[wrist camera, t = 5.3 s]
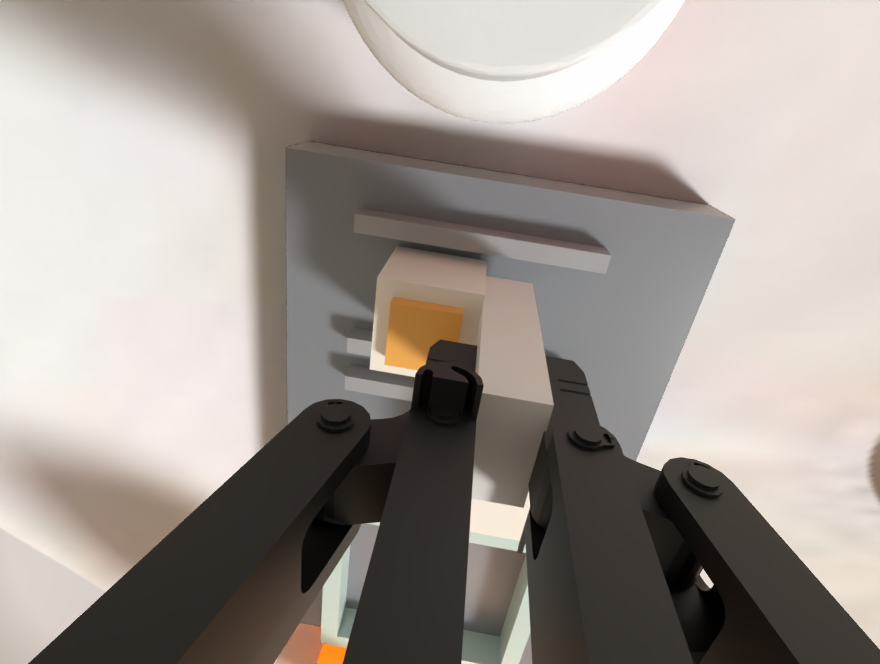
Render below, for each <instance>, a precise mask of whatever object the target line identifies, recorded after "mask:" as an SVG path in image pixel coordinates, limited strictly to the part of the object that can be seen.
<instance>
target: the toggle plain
mask: <svg viewBox="0 0 880 664" xmlns="http://www.w3.org/2000/svg"><path fill="white" fill-rule="evenodd" d="M529 509H530V499H529V491H528V495H527V498H526V502H525V505H524V508H522V507H516V506H511V505H505V504H500V503H494V502H489V501H483V500H478V499H472V500H471V516H470V532H473V533H479V534H484V535H490V536H495V537H501V538H506V539H512V540H517V541H520V538H521V535H522V532H523V528H524V525H525V522H526V519H527V515H528V512H529Z"/></svg>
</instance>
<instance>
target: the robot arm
mask: <svg viewBox="0 0 880 664" xmlns="http://www.w3.org/2000/svg"><path fill="white" fill-rule="evenodd" d="M590 395H591V393H590V390H589V387H588V383H587V380H586V376H585V373H584V372H583V370H582V369H581V368H580V367H579V366H578V365H577V364H576V363H575V362H574V361H572V360H566V359H560V358H554V357H548V356H545V351H544V346H543V340H542V334H541V328H540V322H539V317H538V311H537V305H536V299H535V294H534V288H533V283H527V282H521V281H515V280H509V279H503V278H497V277H491V276H486V285H485V297H484V299H483V305H482V310H481V315H480V320H479V325H478V331H477V336H476V341H475V345H470V344H464V343H458V342H452V341H447V340H441V339H440V340H439V341H437V342H436V343H435V344H434V345H432V346H431V347H430V349H429V353H428V357H427V360H426V364H425V365H424V366H422V367H420V368H419V369H418V371H417V372H416V374H415V381H414V389H413V396H412V404H411V409H410V410H409V411H408V412H406V413H404V414H402V415H400V416H396V417H393V418H385V419H370V414H369V413H368V412H367V410H366V409H365V408H364V407H363V406H361V405H359V404H357V403H355V402H353V401H348V400H343V399H326V400H323V401H319V402H315V403H313V404H312V405H310V406H309V407H307V408H305V409H304V410H303V411H302V412H301V413H300V414H299V415H298V416H297V417H296V418H294V419H293V420H292V421H291V422H290V423H289V424H288V425H287V426H286V427H285V428H284V429H282V430H281V431H280V432H279V433H278V434H277V435H276V436H275V437H274V438H273V439H272V440H271V441H269V442H268V443H267V444H266V445H265V446H264V447H263V448H262V449H261V450H260V451H259V452H258V453H256V454H255V455H254V456H253V457H252V458H251V459H250V460H249V461H248V462H247V463H246V464H245V465H243V466H242V467H241V468H240V469H239V470H238V471H237V472H236V473H235V474H234V475H233V476H231V477H230V478H229V479H228V480H227V481H226V482H225V483H224V484H223V485H222V486H221V487H220V488H218V489H217V490H216V491H215V492H214V493H213V494H212V495H211V496H210V497H209V498H208V499H207V500H205V501H204V502H203V503H202V504H201V505H200V506H199V507H198V508H197V509H196V510H195V511H193V512H192V513H191V514H190V515H189V516H188V517H187V518H186V519H185V520H184V521H183V522H182V523H180V524H179V525H178V526H177V527H176V528H175V529H174V530H173V531H172V532H171V533H170V534H169V535H167V536H166V537H165V538H164V539H163V540H162V541H161V542H160V543H159V544H158V545H157V546H155V547H154V548H153V549H152V550H151V551H150V552H149V553H148V554H147V555H146V556H145V557H144V558H142V559H141V560H140V561H139V562H138V563H137V564H136V565H135V566H134V567H133V568H132V569H131V570H129V571H128V572H127V573H126V574H125V575H124V576H123V577H122V578H121V579H120V580H119V581H117V582H116V583H115V584H114V585H113V586H112V587H111V588H110V589H109V590H108V591H107V592H106V593H104V594H103V596H101V597H100V598H99V599H98V600H97V601H96V602H95V603H94V604H93V605H91V606H90V608H88V609H87V610H86V611H85V612H84V613H83V614H82V615H81V616H80V617H78V618H77V619H76V620H75V621H74V622H73V623H72V624H71V625H70V626H69V627H68V628H66V629H65V630H64V631H63V632H62V633H61V634H60V635H59V636H58V637H57V638H56V639H55V640H54V641H52V642H51V643H50V644H49V645H48V646H47V647H46V648H45V649H44V650H43V651H42V652H40V653H39V654H38V655H37V656H36V657H35V658H34V659H33V660H32V661H31V662H30V663H28V664H273V663H274V662H275V660H276V658H277V657H278V655H279V654H280V652H281V651H282V649H283V648H284V646H285V645H286V643H287V641H288V640H289V638H290V637H291V635H292V634H293V632H294V631H295V629H296V627H297V626H298V624H299V623H300V621H301V620H302V618H303V617H304V615H305V614H306V612H307V610H308V609H309V607H310V606H311V604H312V603H313V601H314V600H315V598H316V597H317V595H318V593H319V592H320V590H321V589H322V587H323V586H324V584H325V583H326V581H327V579H328V578H329V576H330V575H331V573H332V572H333V570H334V569H335V567H336V566H337V564H338V562H339V561H340V559H341V558H342V556H343V555H344V553H345V552H346V550H347V549H348V547H349V545H350V544H351V542H352V541H353V539H354V538H355V536H356V535H357V533H358V531H359V529H360V526H361V524H365V523H376V522H380V525H379V529H378V533H377V537H376V540H375V544H374V548H373V551H372V555H371V559H370V563H369V566H368V570H367V574H366V578H365V581H364V585H363V589H362V592H361V596H360V600H359V604H358V607H357V611H356V615H355V619H354V622H353V626H352V630H351V633H350V637H349V641H348V645H347V648H346V652H345V656H344V660H343V663H342V664H461V661H462V645H463V629H464V613H465V597H466V580H467V564H468V548H469V532H470V516H471V500H472V499H478V500H483V501H489V502H494V503H500V504H505V505H511V506H516V507H522V508H524V505H525V502H526V498H527V495H528V491H529V499H530V509H529V512H528V515H527V519H526V522H525V525H524V528H523V532H522V535H521V538H520V542H519V545H518V550H517V553H521V554H522V553H523V550H524V546H525V544H526V560H527V578H528V596H529V613H530V631H531V649H532V664H880V650H879V648H878V647H877V646H876V645H875V644H874V643H873V642H872V640H871V639H870V638H869V637H868V636H867V635H866V634H865V632H864V631H863V630H862V629H861V628H860V627H859V626H858V625H857V623H856V622H855V621H854V620H853V619H852V618H851V617H850V615H849V614H848V613H847V612H846V611H845V610H844V609H843V607H842V606H841V605H840V604H839V603H838V602H837V601H836V599H835V598H834V597H833V596H832V595H831V594H830V593H829V592H828V590H827V589H826V588H825V587H824V586H823V585H822V584H821V582H820V581H819V580H818V579H817V578H816V577H815V576H814V574H813V573H812V572H811V571H810V570H809V569H808V568H807V566H806V565H805V564H804V563H803V562H802V561H801V560H800V559H799V557H798V556H797V555H796V554H795V553H794V552H793V551H792V549H791V548H790V547H789V546H788V545H787V544H786V543H785V541H784V540H783V539H782V538H781V537H780V536H779V535H778V533H777V532H776V531H775V530H774V529H773V528H772V527H771V526H770V524H769V523H768V522H767V521H766V520H765V519H764V518H763V516H762V515H761V514H760V513H759V512H758V511H757V510H756V508H755V507H754V506H753V505H752V504H751V503H750V502H749V500H748V499H747V498H746V497H745V496H744V495H743V494H742V492H741V491H740V490H739V489H738V488H737V487H736V486H735V485H734V483H733V482H732V481H730V480H729V479H728V478H727V477H726V476H725V475H724V474H723V473H721V472H720V471H718V470H716V469H715V468H713V467H711V466H710V465H708V464H705V463H702V462H700V461H697V460H694V459H688V458H674V459H670V460H669V461H668V462H666V463H665V464H664V466H663V468H662V471H659V470H656V469H654V468H651V467H649V466H646V465H643V464H641V463H638V462H636V461H634V460H632V459H630V458H627V457H626V456H624V455H623V452H622V449H621V446H620V444H619V442H618V441H617V439H616V437H615V436H614V435H613V434H611V433H610V432H609V431H608V430H607V429H605V428H604V427H602V426H600V423H599V420H598V416H597V413H596V410H595V406H594V403H593V400H592V396H590ZM702 569H704V570H705V572H706V573H707V575H708V576H709V578H710V579H711V581H712V582H713V584H714V585H713V587H712V588H709V587H708V586H707V585H706V584H705V582H704V581H703V579H702V578H701V576H700V573H701V571H702Z"/></svg>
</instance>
